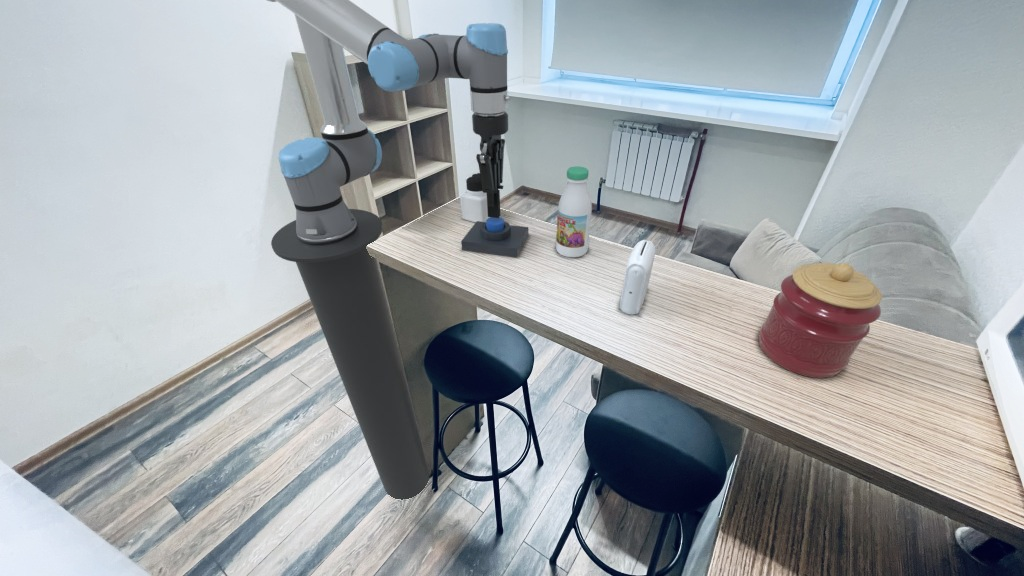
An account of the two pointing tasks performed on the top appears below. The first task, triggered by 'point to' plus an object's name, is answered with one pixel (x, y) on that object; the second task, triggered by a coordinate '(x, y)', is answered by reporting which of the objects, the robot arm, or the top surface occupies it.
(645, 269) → the photo printer
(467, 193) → the medicine bottle
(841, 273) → the kitchen canister
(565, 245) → the milk bottle
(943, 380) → the top surface
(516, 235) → the button base
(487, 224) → the push top
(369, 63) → the robot arm
